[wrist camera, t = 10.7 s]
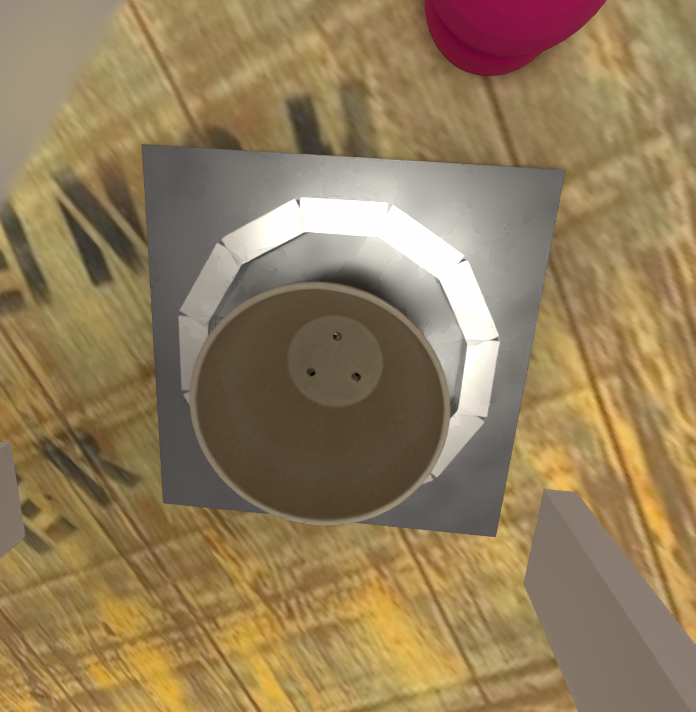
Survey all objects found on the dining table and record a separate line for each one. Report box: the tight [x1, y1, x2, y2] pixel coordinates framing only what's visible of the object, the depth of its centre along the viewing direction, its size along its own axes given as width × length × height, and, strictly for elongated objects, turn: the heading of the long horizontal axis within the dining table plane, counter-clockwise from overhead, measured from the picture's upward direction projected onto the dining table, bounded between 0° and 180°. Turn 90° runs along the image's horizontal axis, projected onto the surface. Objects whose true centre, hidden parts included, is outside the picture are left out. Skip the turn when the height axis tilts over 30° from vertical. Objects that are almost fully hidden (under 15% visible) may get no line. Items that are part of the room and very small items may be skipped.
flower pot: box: [189, 282, 450, 525], centre depth 20 cm, size 10×10×7 cm
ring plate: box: [142, 144, 565, 537], centre depth 23 cm, size 20×20×2 cm
